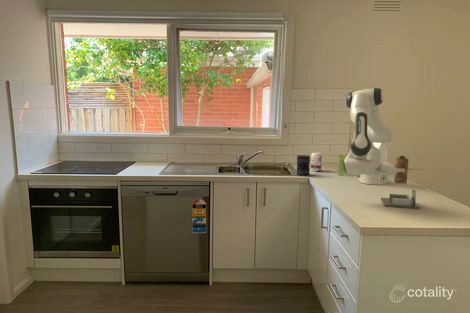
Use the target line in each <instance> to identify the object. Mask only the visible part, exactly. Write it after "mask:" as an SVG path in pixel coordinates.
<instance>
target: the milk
mask: <svg viewBox="0 0 470 313" xmlns="http://www.w3.org/2000/svg"><path fill="white" fill-rule="evenodd" d="M373 145H374V146H375V147H376V148H378V149H379V150H380V152H381V161H383V162H388V147H387V145H385V143H376V142H373Z"/></svg>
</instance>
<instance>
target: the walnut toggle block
mask: <svg viewBox="0 0 470 313" xmlns="http://www.w3.org/2000/svg"><path fill="white" fill-rule="evenodd" d="M395 167H396V168H404V169H405V172H397V175H394V182H395V184H405V185H407V184H408V172H409V158H408V157H406V156H405V155H399V156H397V157H395Z"/></svg>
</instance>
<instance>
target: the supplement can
mask: <svg viewBox="0 0 470 313" xmlns="http://www.w3.org/2000/svg"><path fill="white" fill-rule="evenodd" d="M322 155H323V154H322V153H321V152H312V153H311V155H310V158H311V159H310V171H311V170H312V171H320V172H321V171H322V158H323V156H322ZM312 171H311V172H312Z"/></svg>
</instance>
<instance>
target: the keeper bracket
mask: <svg viewBox="0 0 470 313" xmlns="http://www.w3.org/2000/svg"><path fill="white" fill-rule="evenodd" d="M380 200H381V203H382V205H383V206H384V207H387V208H388V207H390V208H400V209H413V210H415V209H417V210H419V209H420V206H419V205H418V204H417V203H416V202H417V201H416V200H417V189H412V190H411V196H410V194H402V193H389V195H388V197H380Z"/></svg>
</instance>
